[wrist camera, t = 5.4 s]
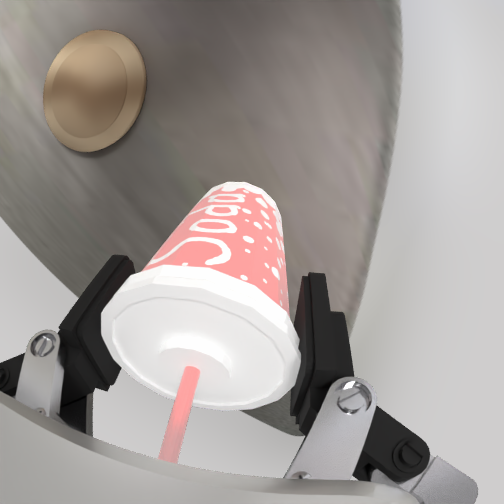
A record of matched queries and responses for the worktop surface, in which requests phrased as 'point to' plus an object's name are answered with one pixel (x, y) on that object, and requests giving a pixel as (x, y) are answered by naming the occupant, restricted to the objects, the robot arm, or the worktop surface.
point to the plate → (94, 90)
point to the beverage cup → (210, 312)
